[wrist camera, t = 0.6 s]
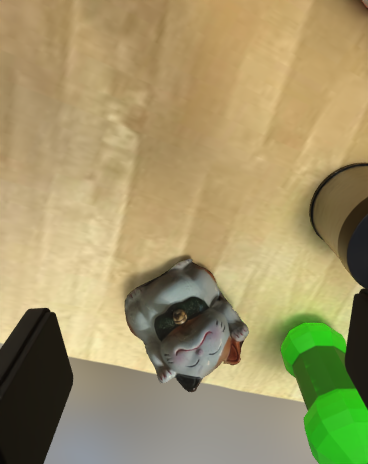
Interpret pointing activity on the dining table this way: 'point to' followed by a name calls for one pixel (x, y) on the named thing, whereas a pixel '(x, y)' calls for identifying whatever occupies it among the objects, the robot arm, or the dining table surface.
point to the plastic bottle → (327, 394)
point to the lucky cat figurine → (185, 324)
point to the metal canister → (344, 217)
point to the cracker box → (365, 3)
